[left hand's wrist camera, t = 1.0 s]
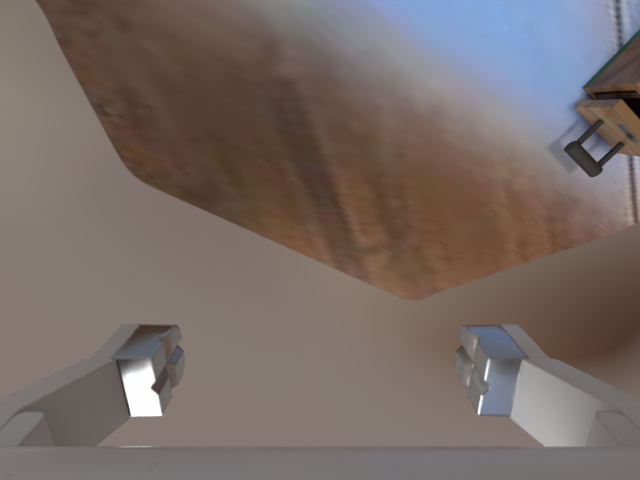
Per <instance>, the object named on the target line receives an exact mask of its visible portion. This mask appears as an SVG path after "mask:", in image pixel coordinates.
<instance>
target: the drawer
mask: <svg viewBox="0 0 640 480" xmlns="http://www.w3.org/2000/svg"><path fill="white" fill-rule="evenodd" d="M597 96H598V97H599V99H600V100H581V101H580V102H579V103H578V104H577V105H576V106H575V107H574V108H575V109H576V110H577V111H578V112H579V113H580V115H581V116H582V117H583V118H584V119H585V120H586V121H587V122H588V123H589V124H590V125H591V127H590V128H589V129H588V130H587V131H586V132H585V133H584V134H583V135H582V136H581V137H580V138H579V139H578V140H577V141H573V142H571V143H569V144H568V145H567V146H566V147H565V149H564V150H565V152H566V153H567V154H568V155H569V156H570V157H571V158H572V159H573V160H574V161H575V162H576V163H577V164H578V165H579V166H580V167H581V168H582V169H583V170H584V171H585V172H586V173H587V174H588V175H589V176H590V177H595V176H597V175H599V174H600V173H601V172H602V170H603V168H602V167H601V166H603V165H604V164H605V163H606V162H607V161H608V160H610V159H611V158H612V157H613V156H614V155H615V154H616V153H620V154H626V155H633V156H639V157H640V95H639V94H638V92H637V91H636V90H629V91H611V92H599V93H598V94H597ZM595 131H596V132H597V133H598V134H599V135H600V136H601V137H602V138H603V139H604V141H605V142H606V143H607V144H608V145H609V146H610V147H611V148H612V149H611V150H610V151H609V152H608V153H607V154H606V155H605V156H604V157H603V158H602V159H600V160H599V161H598V162H596V161H595V160H594V159H593V157H592V156H591V155H590V154H589V153H588V152H587V151H586V150H585V149H584V148H583V147H582V146H581V144H582V143H583V142H584V141H585V140H587V139H588V138H589V137H590V136H591V135H592V134H593V133H594V132H595Z"/></svg>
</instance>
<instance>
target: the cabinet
mask: <svg viewBox="0 0 640 480" xmlns="http://www.w3.org/2000/svg"><path fill="white" fill-rule="evenodd" d="M583 89H584V90H585V91H586V92H587V94H588V95H589V96H590V97H591V98H592V99H593V100H600V99H599V97H598V96H597V94H598V93H599V92H611V91H629V90H636V91H637V92H638V94H639V95H640V30H639V31H638V32H637V33H636V34H635V35H634V36H633V37H632V38H631V39H630V40H629V41H628V42H627V43H626V44H625V45H624V46H623V47H622V48H621V49H620V50H619V51H618V52H617V53H616V54H615V55H614V56H613V57H612V58H611V59H610V60H609V62H608V63H607V64H606V65H605V66H604V67H603V68H602V69H601V70H600V71H599V72H598V73H597V74H596V75H595V76H594V77H593V78H592V79H591V80H590V81H589V82H588V83H587V84H586V85H585V86H584V87H583Z"/></svg>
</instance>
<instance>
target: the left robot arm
mask: <svg viewBox="0 0 640 480" xmlns="http://www.w3.org/2000/svg"><path fill="white" fill-rule="evenodd" d="M180 339H181V333H180V328H179V327H178V326H177V325H162V324H124V325H121V326H120V327H119V328H118V329H117V330H116V332H115V333H114V334H113V335H112V336H111V337H110V338H109V339H108V340H107V341H106V342H105V343H104V345H103V346H102V347H101V348H100V349H99V350H98V351H97V352H96V353H95V354H94V355H93V356H92V358H91V359H83V360H81V361H79V362H77V363H75V364H73V365H71V366H69V367H67V368H65V369H63V370H61V371H59V372H56V373H54V374H52V375H50V376H48V377H46V378H44V379H42V380H40V381H38V382H36V383H34V384H31V385H29V386H27V387H25V388H23V389H21V390H19V391H17V392H15V393H13V394H11V395H9V396H6V397H4V398H2V399H0V480H640V400H639V399H637V398H635V397H633V396H631V395H629V394H627V393H625V392H623V391H621V390H619V389H617V388H615V387H613V386H610V385H608V384H606V383H604V382H602V381H600V380H598V379H596V378H594V377H592V376H590V375H588V374H586V373H583V372H581V371H579V370H577V369H575V368H573V367H571V366H569V365H567V364H565V363H563V362H561V361H559V360H557V359H549V358H548V356H547V355H546V354H545V353H544V352H543V351H542V350H541V349H540V348H539V347H538V346H537V345H536V343H535V342H534V341H533V340H532V339H531V338H530V337H529V336H528V335H527V334H526V333H525V332H524V330H523V329H522V328H521V327H520V326H519V325H516V324H497V325H462V327H461V329H460V332H459V339H460V341H461V343H462V344H463V345H462V346H461V347H460V348H459V349H458V350H457V351H456V360H455V363H456V371H457V375H458V378H459V380H460V382H461V384H462V385H463V386H465V387H466V388H467V389H469V393H468V398H469V400H470V402H471V404H472V406H473V407H474V409H475V411H476V413H477V415H478V416H505V417H510V418H511V419H512V420H513V421H514V422H516V423H517V424H518V425H519V426H520V427H522V428H523V429H524V430H525V431H527V432H528V433H529V434H530V435H531V436H533V437H534V438H535V439H536V440H538V441H539V442H540V443H541V444H542V445H544V446H354V447H353V446H349V447H348V446H337V447H336V446H330V447H329V446H322V447H321V446H307V447H306V446H305V447H304V446H303V447H302V446H97V445H98V444H99V443H100V442H101V441H103V440H104V439H105V438H106V437H108V436H109V435H110V434H111V433H112V432H114V431H115V430H116V429H117V428H118V427H120V426H121V425H122V424H123V423H125V422H126V421H127V420H128V419H129V418H130V417H135V416H162V415H163V413H164V411H165V409H166V408H167V405H168V404H169V402H170V400H171V398H172V393H171V389H173V388H174V387H175V386H177V385H178V384H179V382H180V380H181V378H182V375H183V370H184V360H185V358H184V351H183V350H182V349H181V348H180V347H179V346H178V345H177V344H178V343H179V341H180Z"/></svg>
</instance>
